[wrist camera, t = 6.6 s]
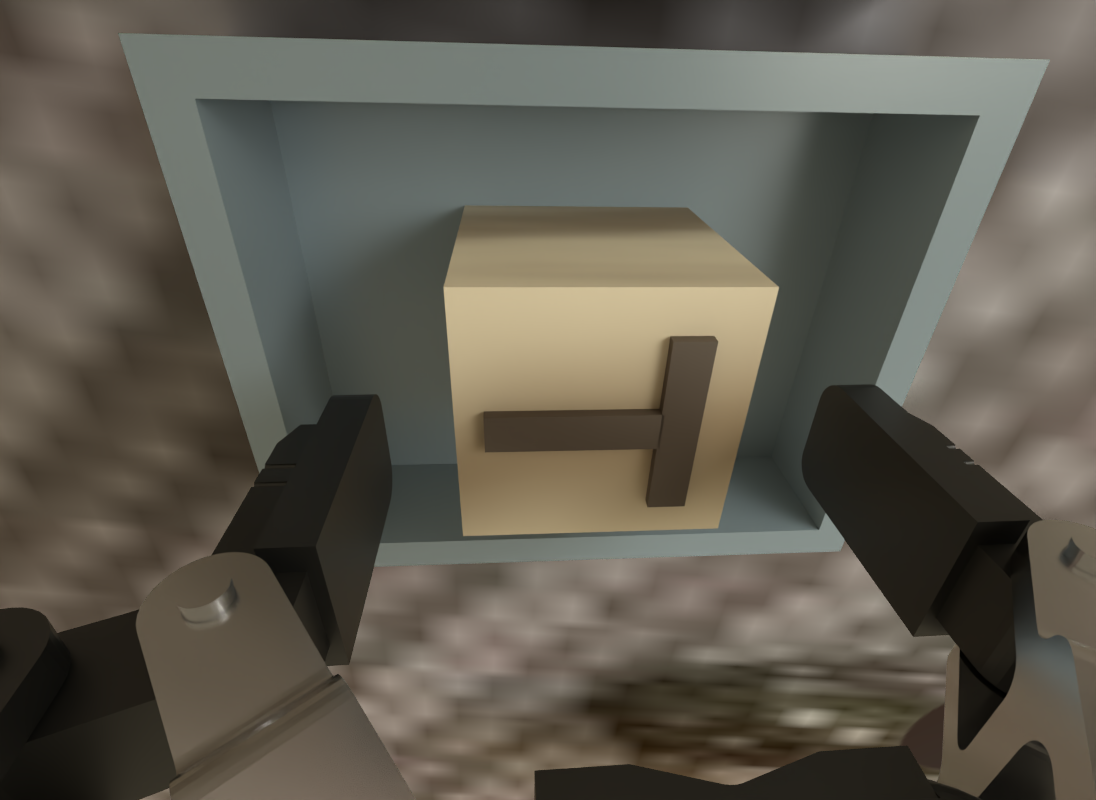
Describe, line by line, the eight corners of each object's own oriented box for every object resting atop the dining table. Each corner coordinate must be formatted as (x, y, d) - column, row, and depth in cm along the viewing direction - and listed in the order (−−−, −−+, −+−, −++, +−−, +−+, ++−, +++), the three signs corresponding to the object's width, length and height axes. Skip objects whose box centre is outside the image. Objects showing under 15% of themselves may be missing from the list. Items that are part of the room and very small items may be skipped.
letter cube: (464, 205, 12) (441, 292, 8) (687, 207, 13) (784, 292, 8) (475, 398, 15) (462, 544, 11) (659, 395, 15) (720, 535, 11)
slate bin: (226, 37, 11) (117, 33, 8) (910, 57, 12) (1050, 59, 9) (329, 474, 17) (290, 569, 14) (782, 464, 18) (839, 551, 15)
